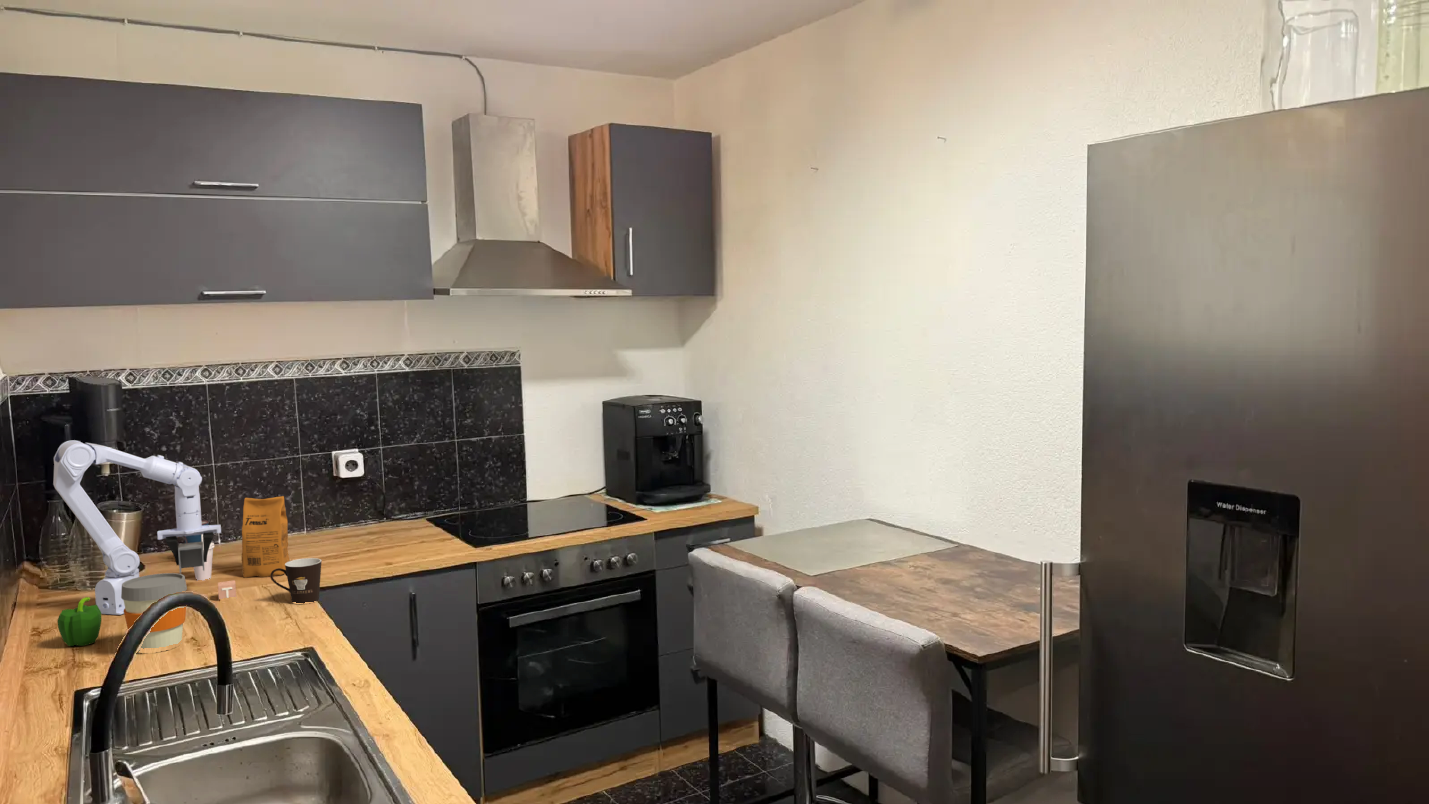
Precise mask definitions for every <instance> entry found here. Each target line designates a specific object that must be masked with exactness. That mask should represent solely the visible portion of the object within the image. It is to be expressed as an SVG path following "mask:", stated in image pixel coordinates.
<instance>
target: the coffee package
mask: <svg viewBox="0 0 1429 804" xmlns="http://www.w3.org/2000/svg"><path fill="white" fill-rule="evenodd" d="M243 500H244V501H243V507H242V508H243V509H242V511H243V513H242V514H243V515H242V525H241V566H242V576H243V578H244V579H247V578H251V577H252V578H253V577H260V578H268V577H270V575H271V572H272V571H273V570H275V569H278V568H281V569H284V570H286V568H285V563H287V562H289V561H291V560H290V556H289V554H290V553H289V550H288V547H289V531H288V523H289V522H288V517H287V510H286V505H285V504H286V503H285V496H284V495H282V496H276V497H268V498H252V497H245V498H244V499H243ZM281 575H282V576H283V575H285V573H284V572H282V571H276V572H274V573H273V577H275V576H276V577H277V576H281Z"/></svg>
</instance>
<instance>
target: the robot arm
mask: <svg viewBox="0 0 1429 804" xmlns="http://www.w3.org/2000/svg"><path fill="white" fill-rule="evenodd" d="M103 463H110V464H115V465H118V466H121V467H126V468H129V469H135V470H138V471H140V473H141V476H142V477H143V478H146V479H150V480H153V481H157V482H160V483H163V484H168V485H173V486H174V503H175V519H176V522H175V523H176V528H171V529H170V528H169V529H164V530H158V531H157V533H156V534H157V536H156V537H157V540H163V539H165V543H166V544H167V546H168V548H169V549H170V551H171V552H172V556H173V557H174V560H175V563H176V564H175V565H176V566H179V555H178V546H179V542H178V541H179V540H178V538H181V537H183V538H184V537H185V536H192V535H202V534H203V546H204V562H207V554H208V550H209V547H210V544H211V543H213V539H214V534H222V527H221V525H222V524H209V525H204V526H202V522H201V521H202V510H201V493H200V487H199V486H200V485H201V484H202V481H203V477H202V476H201V474H200V472H199V471H198V469H196V468H194V467H191V466H189V465H187V464H184V463H183V462H182V461H177V462H175V461H173V460H169V459H165V456H163V455H160V454H157V456H155V455H151V456H149V457H146V458H143V457H140V456H137V455H134V454H131V453H127V452H124V451H121V450H118V449H115V448H112V447H109V446H106V445H102V444H97V443H91V442H85V443H83V442H81V440H75V439H74V440H67V441H64V442H62V443H61V444H60V445H59V447H58V448H57V451H56V452H55V454H54V456H53V464H54V465H53V483H52V485H53V487H54V489H55V491H56V492H57V493H58V495H60V497H61V498H62V500H63V501H64V502H65V503H66V505H67V507H69V509H70V510H71V512H72V513H73V514H74V515H75V517H76V518H77V519H78V521H79V522H80V524H81V525H82V526H83V528H84V529H85V530H86V532H87V533H88V535H90V537H91V539H93V542H95V544H96V545H97V547H98V549H99V551H100V552H101V554H102V560H103V563H104V564H105V566H106V567H107V570H106V571H105V572H104V578H103V579H101V580H99V581H98V582H97V583H96V585H95V587H94V593H95V594H94V596H95V605H97V606H98V608H99V610H100V611H101V615H119V616H120V615H124V609H125V605H124V601H123V599H122V598H121V592H122V584H123V583H124V582H125V581H128V580H130V579H133V578H137V577H140V569H139V568H138V567H139V566H140V557H139V555H138V553H137V552H135V551H134V550H132V549H130V547H128V546H127V545H125V543H124V542H123V541H122V539H121V538H120V537H119V535H117V533H116V532H115V531H114V529H113V528H112V526H111V525H110V524H109V523H108V521H107V520H106V518H105V517H104V515H103V514H102V513H101V511H100V510H99V509H98V508H97V506H96V505H95V504H94V503H95V502H93V500H92V498H91V497H90V496H89V495H88V494H87V492H86V491H85V490H84V488H83V487H82V485H81V481H82V479H83V476H84V474H85V472H86V471H87V470H88V468H89V467H90V466H92V464H94V465H99V464H103ZM197 532H198V533H197Z"/></svg>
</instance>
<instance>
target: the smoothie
mask: <svg viewBox="0 0 1429 804" xmlns="http://www.w3.org/2000/svg"><path fill="white" fill-rule="evenodd" d="M201 539H202V542H203V534H202V535H201ZM214 548H215V543H214V542H211V544H210V547H209V550H208V554H207V562H204V571H203V566H197V567H193V571H194V576H195V580H196V579H197V580H196V581H198V580H202V581H206V580H205V579H208V580H210V579H211V578H212V569H213V555H214ZM203 552H204V546H203ZM209 578H210V579H209Z"/></svg>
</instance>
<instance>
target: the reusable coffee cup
mask: <svg viewBox="0 0 1429 804" xmlns="http://www.w3.org/2000/svg"><path fill="white" fill-rule="evenodd" d="M187 590H188V588H187V582H186V577H185V575H184V574H182V573H175V572H171V573H170V572H165V573H153V574H147V575H143V576H139V577H137V578H133V579H130V580H128V581H125V582H124V583H123V584H122V592H121V598H122V599H123V601H124V605H125V609H124V614H123V615H124V618H125V623H126V628H127V630H128V629H129V628H130V627H131V626H132V625H133V624H134V621H135V620H136V619H137V618H138V617H139V616H140V615H141V614H142V613H143V611H145V610H146V609H147V608H148V607H149V606H150V605H151V604H152V603H154V602H157V601H158V600H159V599H161V598H163V597H164V596H166V595H168V594H173V593H176V592H182V591H185V592H186V591H187ZM186 614H187V606H186V607H184V608H177V609H175V610H173V611H169V612H168V613H167V614H166V615H165V616H164V617H162V618H161V619H159V621H158V622H157V623H156V624H155V625H154V627H152V628H151V631H150V633H149V634H148V635H147V636H146V638H145V639H144V641H143V644H142V646H141V648H143V649H144V648H159V647H166V646H169V645H173V644H178V643H179V642H180V641H181V640H182V641H183V629H184V628H183V626H184V623H185V622H186V617H187V615H186ZM139 651H140V650H139ZM139 651H138V652H139Z"/></svg>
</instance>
